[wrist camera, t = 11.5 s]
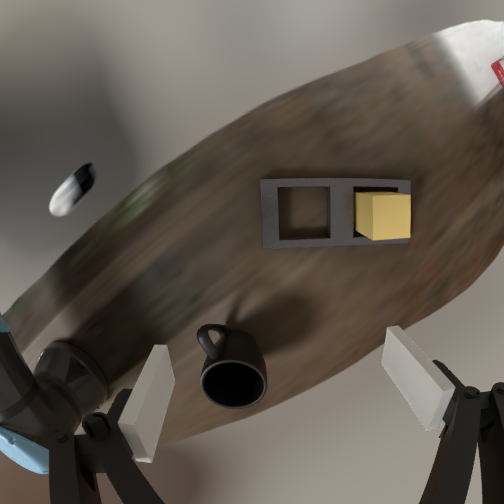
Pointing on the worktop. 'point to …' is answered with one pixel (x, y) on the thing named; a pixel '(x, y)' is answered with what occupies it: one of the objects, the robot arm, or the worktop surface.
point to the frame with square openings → (336, 211)
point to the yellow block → (382, 214)
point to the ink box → (499, 69)
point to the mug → (232, 368)
